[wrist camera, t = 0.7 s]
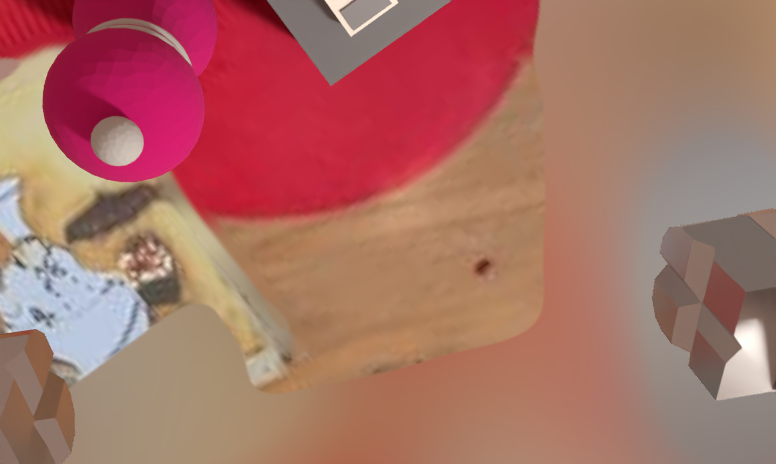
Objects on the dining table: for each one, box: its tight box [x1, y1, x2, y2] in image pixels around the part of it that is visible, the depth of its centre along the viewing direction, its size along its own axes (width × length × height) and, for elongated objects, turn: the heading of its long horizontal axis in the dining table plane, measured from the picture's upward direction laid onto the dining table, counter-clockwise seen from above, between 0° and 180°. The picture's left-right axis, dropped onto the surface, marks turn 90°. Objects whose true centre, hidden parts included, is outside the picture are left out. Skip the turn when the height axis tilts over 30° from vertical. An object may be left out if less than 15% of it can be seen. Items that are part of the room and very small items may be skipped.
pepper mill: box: [43, 0, 218, 182], centre depth 33 cm, size 7×7×20 cm
